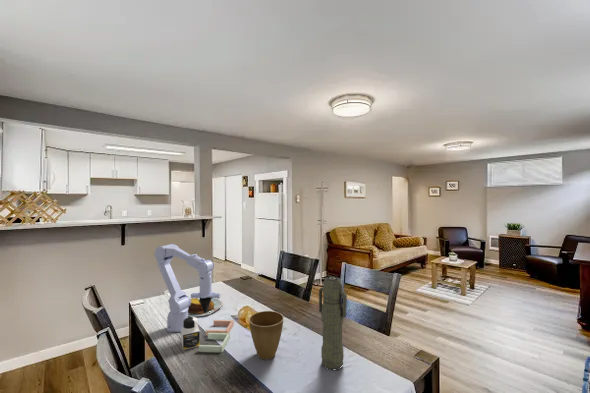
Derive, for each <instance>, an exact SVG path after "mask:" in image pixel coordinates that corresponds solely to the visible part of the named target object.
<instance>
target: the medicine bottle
mask: <svg viewBox="0 0 590 393" xmlns="http://www.w3.org/2000/svg"><path fill="white" fill-rule="evenodd" d="M180 334H181V336H180V337H181V338H180V340H181V342H180V343H181V347H182V350H183V351H184V350H189V349H193V348H197V347H198V348H199V345H201V340H200V339H201V335H200V334H201V332H200V327H199V326H198V318H197V316H194V317H193V316H188V318H186V319H185V320H184V321H183V328H182V329H181V332H180Z"/></svg>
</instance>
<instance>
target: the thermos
mask: <svg viewBox="0 0 590 393" xmlns="http://www.w3.org/2000/svg"><path fill="white" fill-rule="evenodd" d="M342 288H343V286H342V282H341V279H340V277H337V276H331V275H330V276H327V277H325V278H324V281H323V284H322V287H320V288H319V290H318V311H319V313H320V315H321V322H322V345H321V351H320V353H321V356H320V357H321V365H322V366H323V367H324V368H325V367H326V368H325V369H327V368H328V369H327V370H329V369H338V368H340V367H341V366H342V365H343V366H344V346H343V323H344V318H345V317H347V303H348V302H347V299H348V297H347V293H346V292H345V291H344V290H342ZM338 370H339V369H338Z"/></svg>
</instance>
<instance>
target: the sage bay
mask: <svg viewBox="0 0 590 393" xmlns="http://www.w3.org/2000/svg"><path fill="white" fill-rule="evenodd" d="M207 340H223V341H222V343H221V344H219V345H215V344H214V345H213V344H209V345H208V344H200V345H199V346H198V352H199V353H223V352H224V350H225V349H226V347H227V345H228V343H229V341H230V340H231V332H229V333H208V336H207Z"/></svg>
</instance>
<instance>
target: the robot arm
mask: <svg viewBox="0 0 590 393" xmlns="http://www.w3.org/2000/svg"><path fill="white" fill-rule="evenodd" d="M175 257H177V258H179V259H180V260H183V261H185V262H186V264H187V265H188V266H190V267H192V268H194V269H196V270H197V271H196V272H198V277H199V292H193V293H190V296H188V294H187V292H186V291H183V290H182V288H181V286H180V284H179V282H178V280H177V277H176V274H175V272H174V271H173V267H172V266H171V261H172V260H173V259H174V258H175ZM154 258H155V259H156V263H157V266H158V269H159V271H160V274H161V276H162V279H163V282H164V284H165V285H166V288H167V290H168V293H169V295H170V296H169V299H168V301H167V302H168V305H169V310H170V311H169V312H168V314H167V318H166V319H167V320H166V322H167V324H166V326H167V328H166V332H169V333H171V332H173V333H174V332H175V333H181V329H182V328H183V321H184V320H185V319H186V318H188V317H189V316H188V314H189V313H188V309H189V306H190V305H191V299H192V298H200V300H199V302H200V304H201V306H202V308H203V312H204V313H205V314H207V312H208V307H209V304H210V302H211V299H212V298H217V299H219V300H220V298H221V294H222V293H219V292H218V293H217V292H213V290H212V289H213V288H212V286H213V285H212V283H213V282H212V280H213V279H212V276H213V275H212V273H213V270H214V268H215V264H214V262H213V261H212V260H211V259H205V258H203V257H200V256H198V254H197V253H195V254H194V253H193V254H190V253H188V252H186V251H185V250H183V249H181V248H180V247H179V245H176V244H175V243H170V244H166V245H162V246H157V247H156V248H155V251H154Z"/></svg>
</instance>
